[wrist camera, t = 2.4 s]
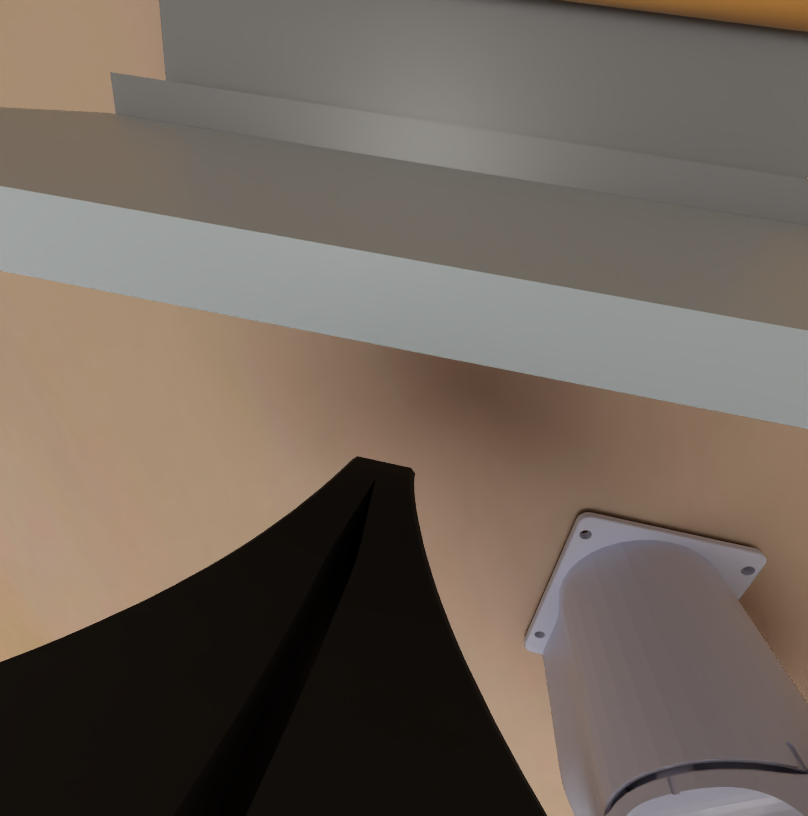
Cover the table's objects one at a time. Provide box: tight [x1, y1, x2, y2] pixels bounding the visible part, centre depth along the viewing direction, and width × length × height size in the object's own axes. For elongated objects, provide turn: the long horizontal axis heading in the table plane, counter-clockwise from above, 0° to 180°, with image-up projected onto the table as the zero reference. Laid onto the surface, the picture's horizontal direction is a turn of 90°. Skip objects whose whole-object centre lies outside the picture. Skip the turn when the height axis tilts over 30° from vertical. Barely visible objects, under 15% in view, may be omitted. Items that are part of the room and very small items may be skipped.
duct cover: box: [0, 107, 808, 429], centre depth 7 cm, size 9×20×1 cm
